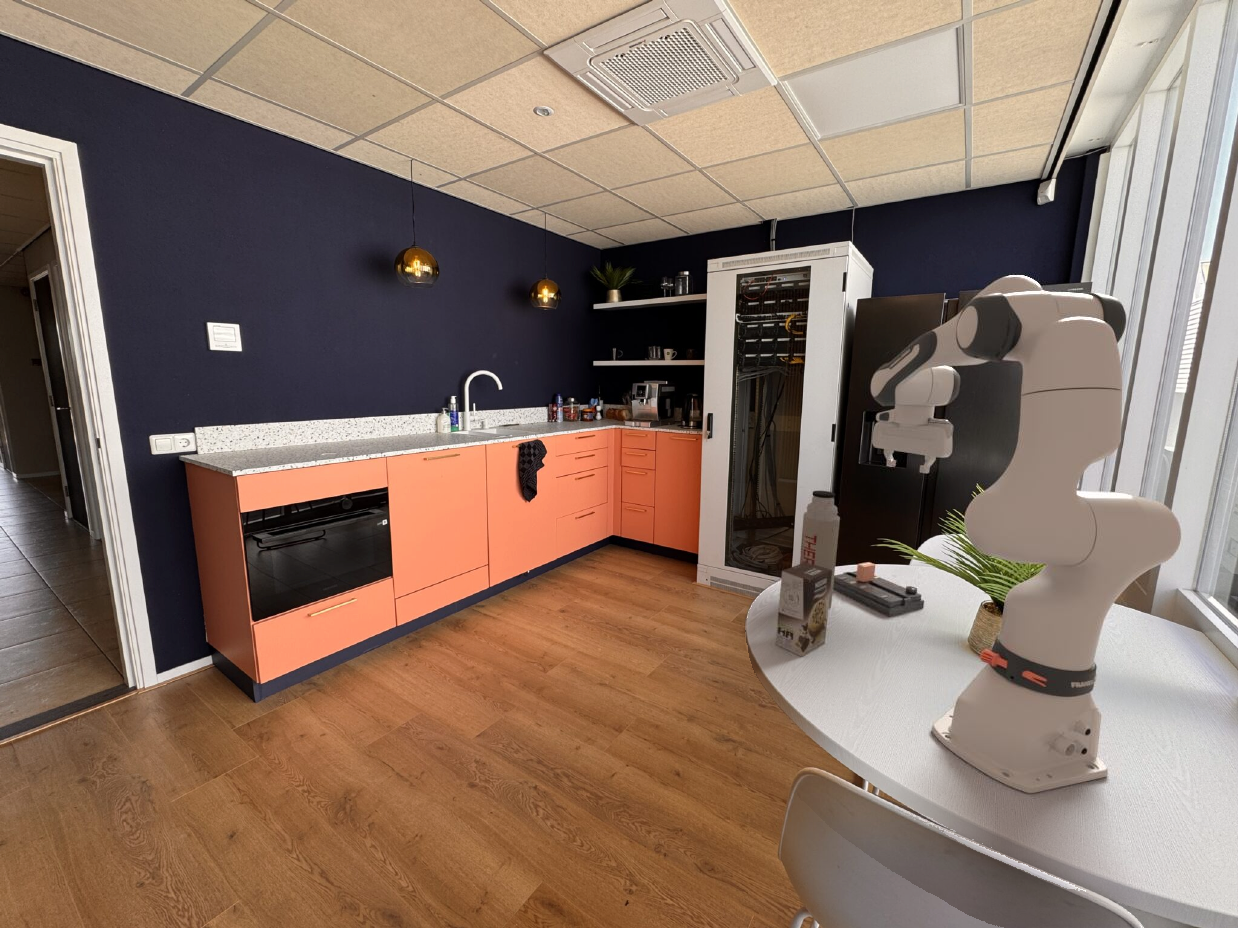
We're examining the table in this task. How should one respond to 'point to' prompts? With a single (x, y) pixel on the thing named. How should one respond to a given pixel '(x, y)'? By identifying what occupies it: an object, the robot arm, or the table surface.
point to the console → (879, 594)
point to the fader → (865, 572)
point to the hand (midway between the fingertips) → (907, 469)
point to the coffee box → (803, 608)
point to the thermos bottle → (821, 533)
